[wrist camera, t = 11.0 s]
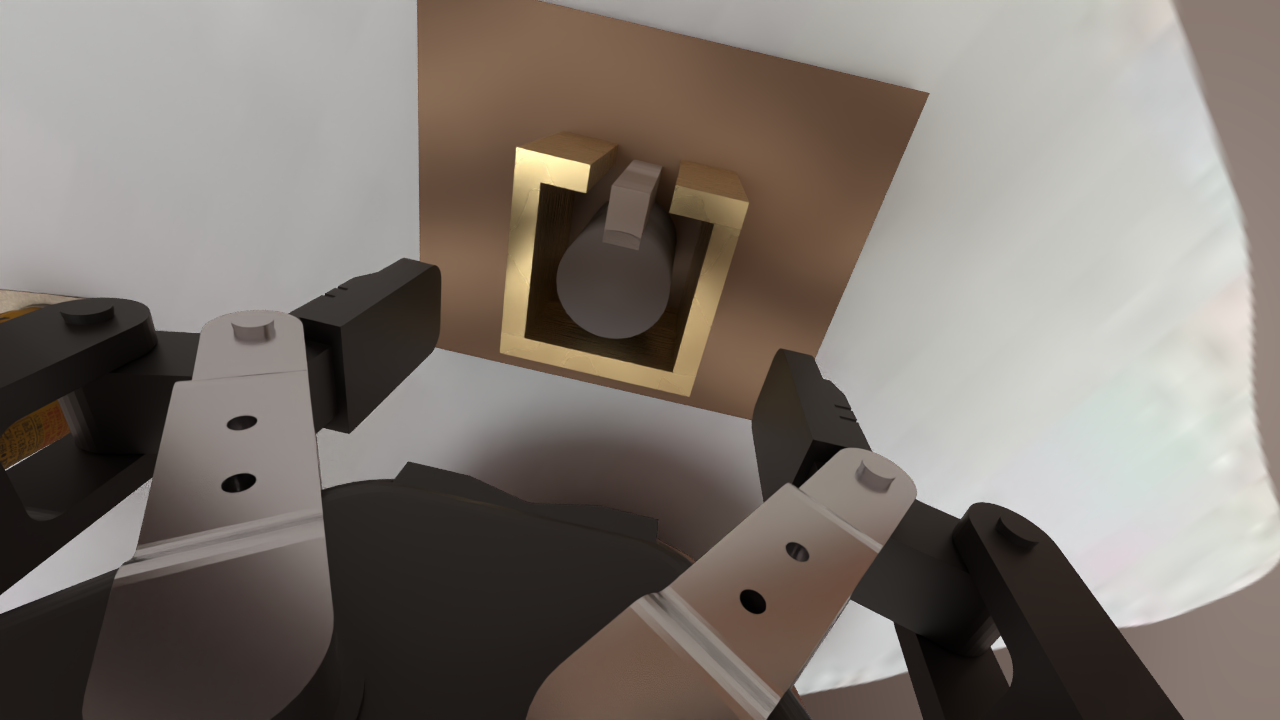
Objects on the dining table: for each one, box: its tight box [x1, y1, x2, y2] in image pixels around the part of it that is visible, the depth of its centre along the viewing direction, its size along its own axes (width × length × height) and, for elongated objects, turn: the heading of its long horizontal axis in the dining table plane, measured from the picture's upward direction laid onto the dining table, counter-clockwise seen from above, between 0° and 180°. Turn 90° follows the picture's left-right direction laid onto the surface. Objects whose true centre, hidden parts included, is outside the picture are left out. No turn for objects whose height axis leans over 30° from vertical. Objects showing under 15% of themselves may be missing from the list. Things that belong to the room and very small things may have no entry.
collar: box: [500, 131, 749, 397], centre depth 16 cm, size 6×6×5 cm
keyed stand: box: [417, 0, 929, 420], centre depth 17 cm, size 13×16×6 cm
